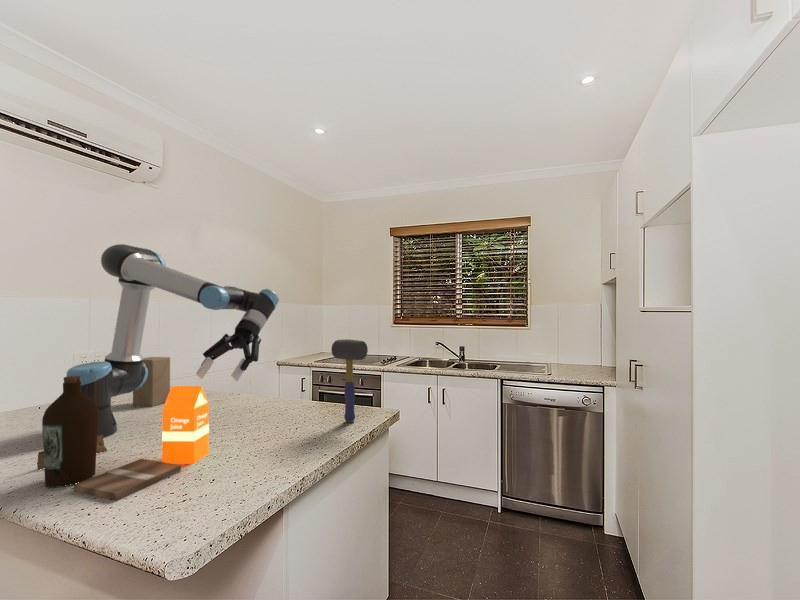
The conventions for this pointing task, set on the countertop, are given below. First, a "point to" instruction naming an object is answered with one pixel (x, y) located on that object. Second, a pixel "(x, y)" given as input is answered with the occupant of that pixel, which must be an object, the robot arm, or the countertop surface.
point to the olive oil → (70, 436)
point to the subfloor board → (127, 479)
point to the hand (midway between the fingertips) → (216, 377)
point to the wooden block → (154, 383)
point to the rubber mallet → (349, 369)
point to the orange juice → (185, 425)
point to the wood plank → (99, 449)
